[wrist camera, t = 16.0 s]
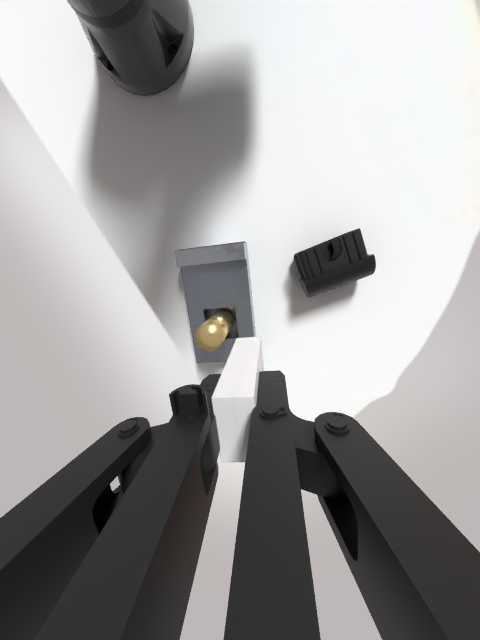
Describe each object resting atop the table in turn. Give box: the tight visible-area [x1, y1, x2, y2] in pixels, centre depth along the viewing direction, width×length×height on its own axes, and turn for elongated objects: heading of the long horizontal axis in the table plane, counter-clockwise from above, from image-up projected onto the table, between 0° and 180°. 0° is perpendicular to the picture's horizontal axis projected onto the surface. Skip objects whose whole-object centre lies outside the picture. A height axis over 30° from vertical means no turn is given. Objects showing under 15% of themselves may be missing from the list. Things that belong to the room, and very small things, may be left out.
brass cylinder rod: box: [195, 310, 234, 351], centre depth 38 cm, size 4×4×10 cm
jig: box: [175, 241, 256, 363], centre depth 41 cm, size 20×11×5 cm, turn 6°
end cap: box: [294, 228, 376, 297], centre depth 36 cm, size 10×7×7 cm
